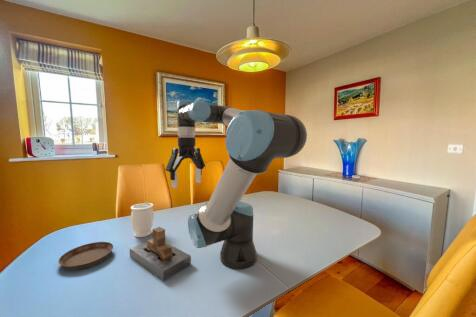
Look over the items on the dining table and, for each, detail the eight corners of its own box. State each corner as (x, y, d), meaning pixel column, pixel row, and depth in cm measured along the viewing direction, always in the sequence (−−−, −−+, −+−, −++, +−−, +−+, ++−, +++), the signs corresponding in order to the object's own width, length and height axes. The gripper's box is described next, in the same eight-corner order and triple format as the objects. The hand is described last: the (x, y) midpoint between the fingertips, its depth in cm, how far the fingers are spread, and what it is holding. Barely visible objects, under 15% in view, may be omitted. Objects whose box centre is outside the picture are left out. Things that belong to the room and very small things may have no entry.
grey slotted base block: (190, 264, 78) (190, 255, 78) (163, 281, 68) (163, 271, 68) (156, 245, 92) (156, 237, 92) (129, 256, 83) (129, 248, 82)
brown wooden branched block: (173, 263, 78) (172, 231, 77) (163, 268, 75) (163, 235, 74) (155, 253, 86) (154, 223, 85) (146, 257, 82) (145, 226, 81)
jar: (145, 239, 97) (144, 209, 96) (126, 237, 99) (125, 208, 98) (158, 230, 108) (157, 203, 106) (141, 228, 110) (140, 201, 108)
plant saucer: (45, 274, 72) (44, 266, 71) (80, 248, 89) (80, 242, 89) (97, 272, 73) (96, 264, 73) (121, 247, 91) (121, 240, 90)
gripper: (201, 138, 100) (201, 179, 102) (155, 136, 80) (157, 188, 81) (212, 137, 96) (212, 181, 97) (167, 136, 75) (168, 191, 77)
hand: (187, 185), depth 89 cm, fingers open, 13 cm apart
